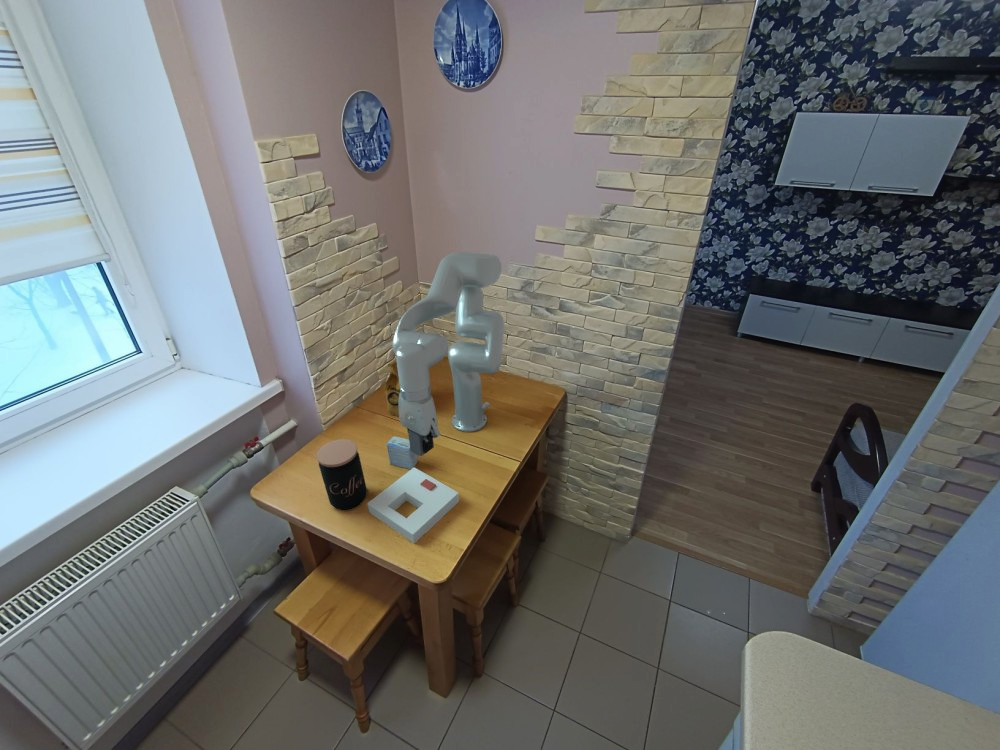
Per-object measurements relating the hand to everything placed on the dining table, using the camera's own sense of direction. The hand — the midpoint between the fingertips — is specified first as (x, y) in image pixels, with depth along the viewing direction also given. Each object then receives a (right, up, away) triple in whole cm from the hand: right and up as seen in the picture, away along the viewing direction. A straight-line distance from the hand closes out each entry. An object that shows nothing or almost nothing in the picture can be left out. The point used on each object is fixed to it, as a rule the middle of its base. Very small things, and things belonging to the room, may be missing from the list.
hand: (422, 446), depth 125 cm
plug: (0, -1, 0) cm, 1 cm away
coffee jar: (-23, -17, +9) cm, 30 cm away
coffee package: (-15, +7, +47) cm, 49 cm away
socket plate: (-3, -18, +5) cm, 19 cm away
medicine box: (-9, -9, +21) cm, 25 cm away
